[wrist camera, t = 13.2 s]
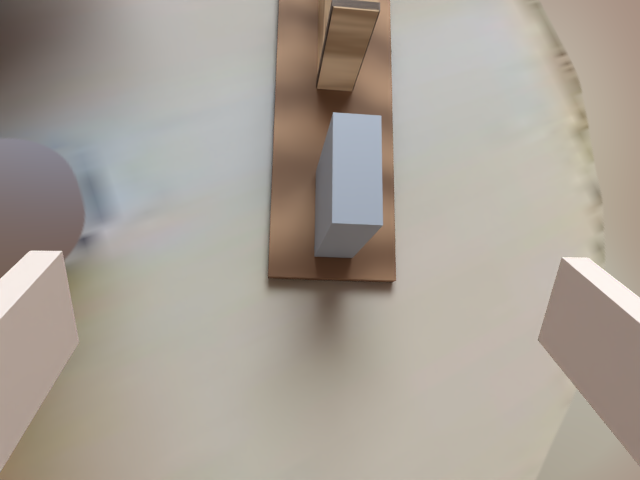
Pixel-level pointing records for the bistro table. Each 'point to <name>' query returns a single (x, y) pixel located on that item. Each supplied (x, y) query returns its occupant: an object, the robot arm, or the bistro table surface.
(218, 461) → the bistro table surface
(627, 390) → the robot arm
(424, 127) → the bistro table surface
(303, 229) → the l-shaped wooden stand
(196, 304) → the bistro table surface
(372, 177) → the pale blue rectangular block
